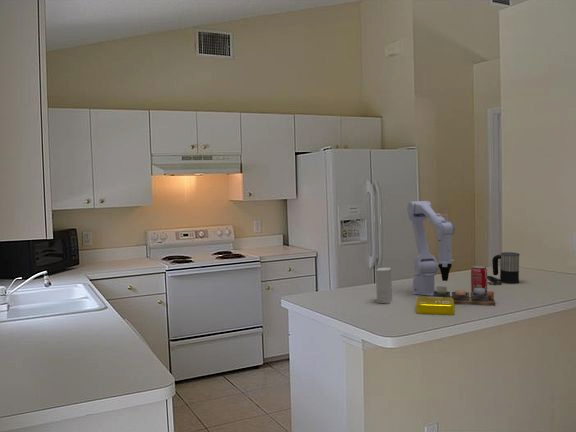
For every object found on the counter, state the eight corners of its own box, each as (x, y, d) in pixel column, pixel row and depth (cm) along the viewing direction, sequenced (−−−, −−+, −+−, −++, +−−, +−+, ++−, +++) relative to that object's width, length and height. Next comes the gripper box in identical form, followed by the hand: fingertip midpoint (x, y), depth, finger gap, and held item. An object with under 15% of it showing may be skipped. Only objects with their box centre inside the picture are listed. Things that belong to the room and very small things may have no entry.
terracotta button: (455, 299, 246) (455, 292, 246) (455, 296, 251) (455, 290, 250) (465, 299, 245) (465, 292, 245) (465, 297, 249) (465, 290, 249)
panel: (427, 302, 247) (427, 292, 247) (428, 297, 257) (428, 287, 256) (495, 305, 239) (495, 294, 239) (493, 300, 249) (493, 289, 249)
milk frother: (521, 281, 288) (521, 252, 287) (514, 287, 275) (515, 256, 274) (492, 279, 296) (492, 251, 295) (484, 284, 283) (485, 255, 282)
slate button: (474, 296, 244) (474, 289, 244) (474, 294, 248) (474, 287, 248) (485, 296, 243) (485, 290, 243) (484, 294, 247) (484, 287, 247)
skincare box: (389, 303, 247) (389, 270, 245) (376, 303, 249) (375, 269, 247) (392, 299, 255) (392, 267, 253) (378, 299, 256) (378, 266, 255)
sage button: (436, 295, 249) (436, 288, 248) (436, 292, 253) (436, 286, 252) (446, 295, 247) (446, 288, 247) (446, 293, 252) (446, 286, 251)
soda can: (488, 296, 257) (488, 268, 256) (471, 295, 259) (472, 267, 258) (486, 292, 264) (486, 265, 263) (470, 292, 266) (470, 265, 264)
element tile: (453, 307, 240) (453, 296, 240) (454, 316, 226) (454, 304, 225) (417, 305, 244) (417, 295, 244) (416, 314, 230) (416, 303, 229)
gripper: (454, 252, 239) (454, 284, 240) (454, 247, 253) (454, 277, 254) (437, 252, 241) (437, 283, 242) (438, 247, 254) (438, 277, 256)
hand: (444, 280), depth 248 cm, fingers closed
